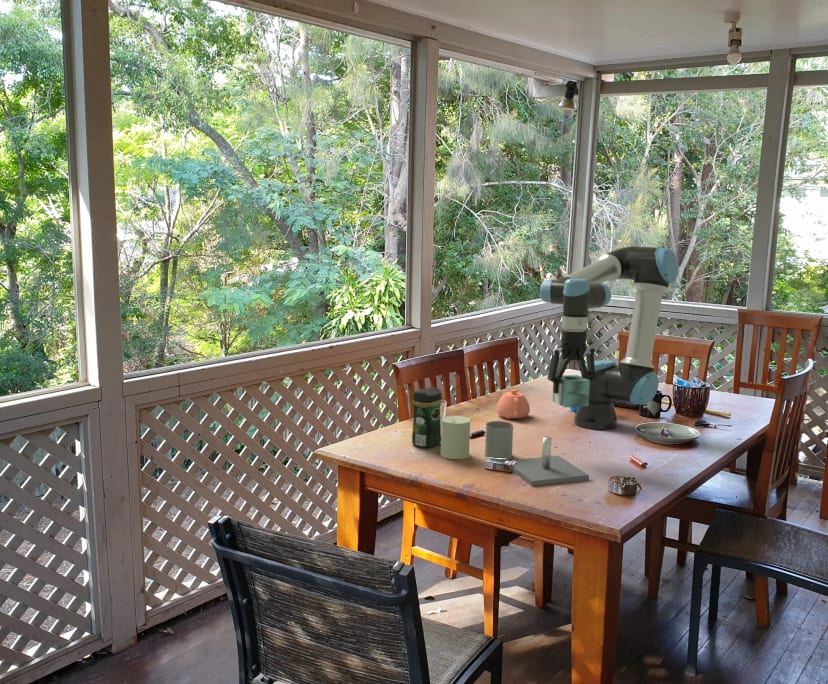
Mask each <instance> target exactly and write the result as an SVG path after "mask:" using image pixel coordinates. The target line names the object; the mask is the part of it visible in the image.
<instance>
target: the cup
mask: <svg viewBox="0 0 828 684" xmlns="http://www.w3.org/2000/svg"><path fill="white" fill-rule="evenodd" d="M513 435H514V425H513V423H511V422H509V421H508V422H507V421H503V420H501V421H500V420H494V421H493V420H492V421H488V422H486V423H485V441H484V442H485V443H484V445H485V448H484V457H486V458H487V457H493V458H507V460H511V459H512V458H513V440H514V439H513Z"/></svg>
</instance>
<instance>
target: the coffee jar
mask: <svg viewBox="0 0 828 684" xmlns="http://www.w3.org/2000/svg"><path fill="white" fill-rule="evenodd" d="M441 404H442V392H441V390H440V389H439V388H437V387H431V386H428V387H426V388H422V389H418V390H415V391H413V393H412V405H413V420H412V421H413V423H412V433H411V434H412V436H411V443H412V445H414V446H415V447H417V446H418V447H417V448H421V447H422V448H431V447H435V446H436V445H439V444H441Z"/></svg>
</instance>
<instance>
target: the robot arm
mask: <svg viewBox="0 0 828 684" xmlns="http://www.w3.org/2000/svg"><path fill="white" fill-rule="evenodd" d="M678 276H679V261H678V258H677V255H676V253H675V252H674V251H673V250H672V249H669V248H666V247H665V248H664V247H659V246H658V247H655V246H653V247H651V246H650V247H649V246H626V247H621V248H618V249H615V250H612V251H610V252H607V253H605V254H603V255H602V256H600V257H599V258H598V259H597V261H595V262H593V263H590V264H588V265H587V266H584V267H583V268H580V269H578V270H576V271H574V272H572V273H570V274H568V275H565V276H564V277H561V278H559V279H556V280H555V279H546V280H544V281H543V282H542V283H541V284H540V287H539V296H540V299H541V301H543V303H549V304H552V305H553V304H555V305H562V317H561V319H562V321H561V328H562V330H561V334H560V335H561V336H560V338H561V339H560V342H561V345H560V347H558V348H551V359H550V364H549V365H550V366H549V370H548V374H547V380H548V381H550V382H552V383H553V384H552V394H553V393H555V402H554V403H555V404H557V405H559V406H561V394H562V384H561V383H560V381H561V378H562V376H564V374H565V371H566V369H567V367H568V365H569V364H570V363H571V362H572V361H576V363H577V365H578V368H579V372H580V376H581V377H583V378H585V379H588V380H590V387H589V404H588V406H579V407H577V410H576V411H575V414H574V418H573V419H574V420H573V423H574V425H576V426H578V427H581V428H586V429H590V430H613V429H615V428H616V427H617V426H618V417H617V413H616V410H615V405H614V401H619V402H625V403H629V404H632V405H648V404H649V403H651V401H652V400H653V399H654V397H655V396H656V393H657V392H658V389H659V386H660V385H659V383H660V381H659V379H660V378H659V374H657V373H656V372H655V366H654V365H653V362H652V357H653V351H654V346H655V341H656V334H657V328H658V322H659V317H660V311H661V305H662V299H663V294H664V293H665V292H666V291H668V290H669V287H670V284H673V283H675V282H676V280H677V278H678ZM623 279H624V280H630V281H631V280H633V286H634V287H635V289H636V294H635V300H634V306H633V311H632V317H631V322H630V323H631V324H630V327H629V335H628V340H627V346H626V351H625V357H624V358H623V359H621V360H620V361H619V366H617V362H616V360H610V359H609V360H608V359H602V360H601V359H598V360H595V359H594V355H595V351H596V349H595V348H594V347H590V346H586V343H587V337H588V335H587V333H588V331H586V330H587V329H588V320H589V319H588V317H589V315H588V314H589V309H599V308H602V307H605V306H607V305H608V304H609V303H610V302H611V300H612V299H611V298H612V291H611V289H610V287H609V286H608V285H607V284H605V282H613V281H616V280H623ZM561 354H562V355H561ZM584 354H585V357H584ZM560 356H561V358H560ZM585 358H586V359H585ZM585 360H586V361H585Z"/></svg>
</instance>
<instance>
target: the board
mask: <svg viewBox="0 0 828 684" xmlns="http://www.w3.org/2000/svg"><path fill="white" fill-rule="evenodd" d="M514 460H515V461H517V464H516V466H515V467H513V470H514V472H513V473H514V474H516V475H517V476H518V477H519V478H520V479H522V480H523V481H524V482H525V483H527V484H528V485H530V486H531V487H536V486H547V485H555V484H564V483H572V482H573V483H574V482H583V481H589V480H590V475H589V474H588V473H586V471H584V470H582V469H580V468H579V467H577V466H576V465H574V464H572V463H571V462H569V461H568V460H566V459H565V458H563V457H561V456H559V455H552V456H551V459H550V469H543V468H542V456H541V457H531V458H530V457H529V458H528V457H527V458H518V459H514Z"/></svg>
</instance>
